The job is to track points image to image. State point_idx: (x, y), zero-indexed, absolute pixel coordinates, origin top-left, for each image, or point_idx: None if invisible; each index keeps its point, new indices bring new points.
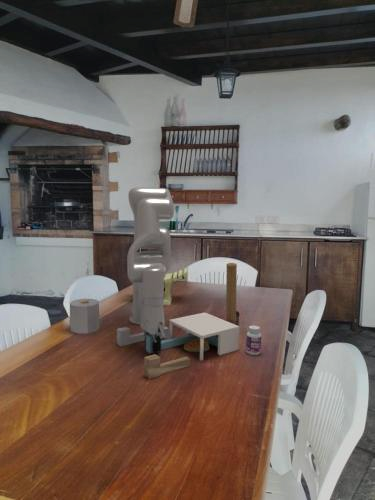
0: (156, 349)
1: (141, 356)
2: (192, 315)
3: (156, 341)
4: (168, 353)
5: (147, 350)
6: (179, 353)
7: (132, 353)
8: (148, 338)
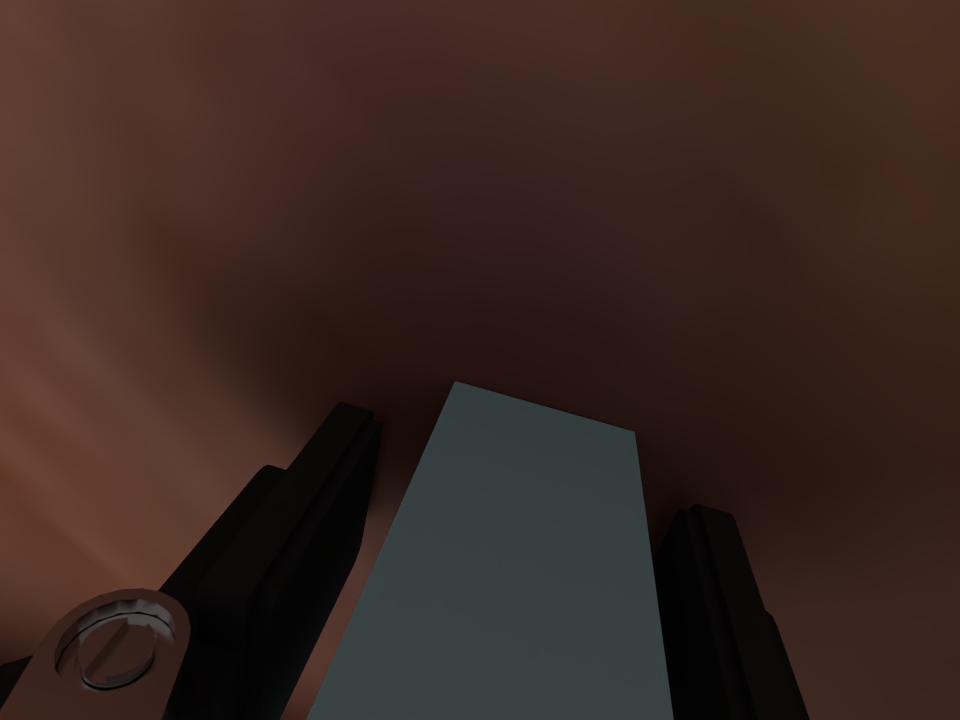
0: (260, 477)
1: (473, 127)
2: None
3: (72, 644)
4: None
5: (562, 426)
6: None
7: (819, 89)
8: (464, 702)
